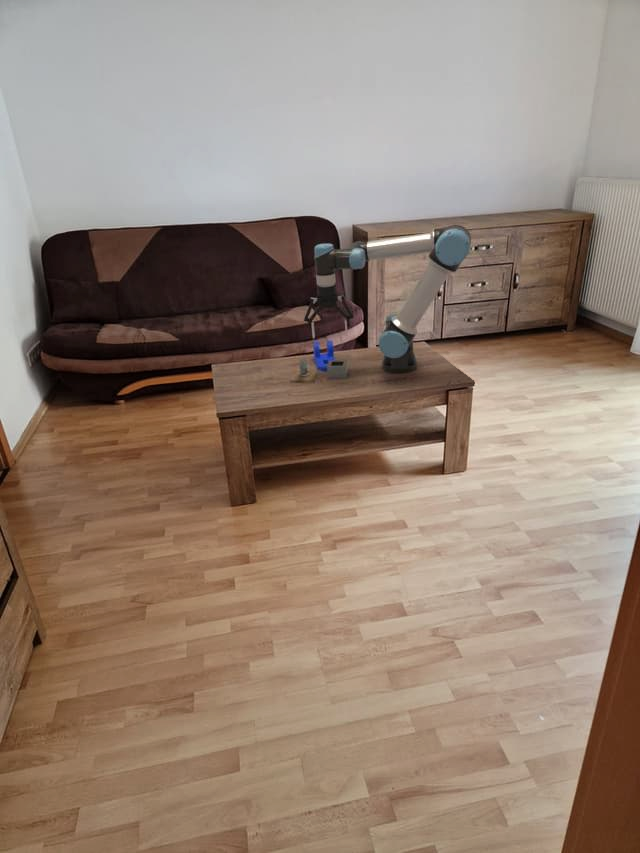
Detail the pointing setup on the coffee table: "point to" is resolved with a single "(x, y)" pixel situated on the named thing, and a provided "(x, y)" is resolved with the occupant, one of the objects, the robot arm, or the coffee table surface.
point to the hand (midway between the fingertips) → (330, 336)
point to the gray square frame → (337, 369)
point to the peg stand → (303, 374)
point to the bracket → (323, 356)
